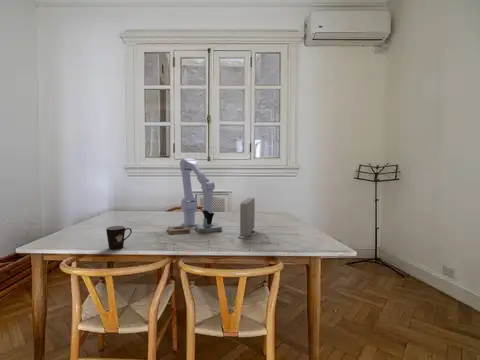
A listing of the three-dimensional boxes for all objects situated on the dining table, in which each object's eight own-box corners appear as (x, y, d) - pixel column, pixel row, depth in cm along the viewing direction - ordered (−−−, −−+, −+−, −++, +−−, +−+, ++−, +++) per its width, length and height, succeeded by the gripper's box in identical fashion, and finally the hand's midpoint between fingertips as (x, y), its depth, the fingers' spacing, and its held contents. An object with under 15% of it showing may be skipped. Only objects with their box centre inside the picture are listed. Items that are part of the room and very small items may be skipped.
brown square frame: (167, 229, 185) (167, 226, 185) (187, 228, 189) (187, 225, 189) (169, 234, 174) (169, 230, 174) (189, 232, 177) (189, 229, 177)
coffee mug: (106, 251, 140) (105, 230, 140) (106, 246, 148) (106, 226, 148) (132, 248, 145) (132, 228, 144) (131, 244, 153) (131, 224, 152)
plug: (203, 229, 187) (203, 218, 186) (210, 229, 188) (210, 217, 188) (204, 230, 184) (204, 219, 183) (211, 230, 185) (211, 218, 185)
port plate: (195, 228, 191) (195, 224, 191) (216, 226, 195) (216, 222, 195) (198, 232, 177) (198, 228, 177) (221, 231, 182) (221, 227, 181)
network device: (251, 240, 160) (251, 203, 159) (235, 239, 162) (235, 202, 160) (258, 230, 185) (258, 197, 184) (244, 229, 187) (244, 197, 185)
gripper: (199, 199, 191) (199, 221, 192) (203, 202, 177) (203, 225, 178) (210, 199, 193) (210, 220, 194) (215, 202, 179) (215, 224, 180)
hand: (208, 222), depth 186 cm, fingers open, 7 cm apart
